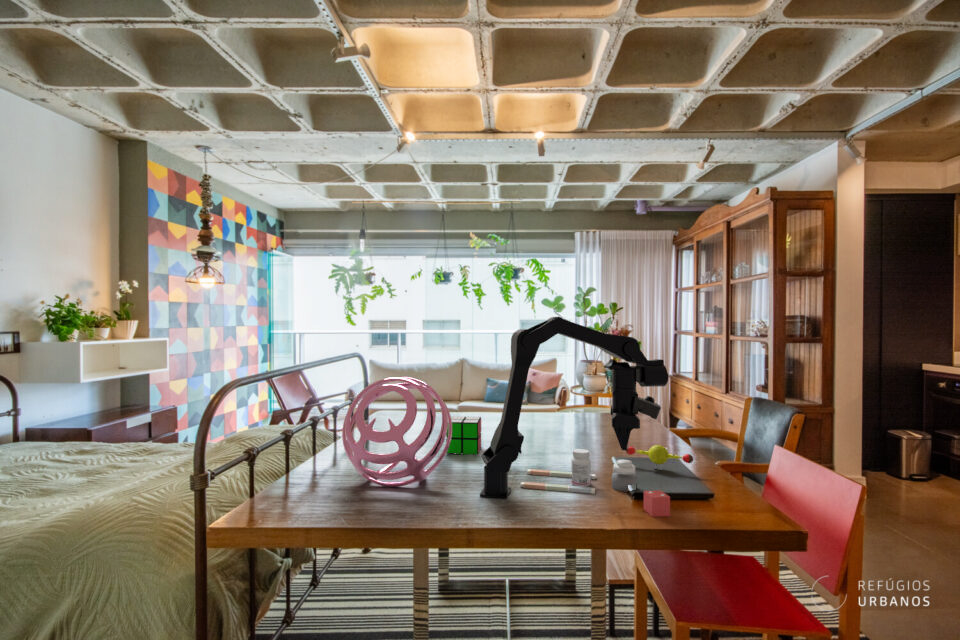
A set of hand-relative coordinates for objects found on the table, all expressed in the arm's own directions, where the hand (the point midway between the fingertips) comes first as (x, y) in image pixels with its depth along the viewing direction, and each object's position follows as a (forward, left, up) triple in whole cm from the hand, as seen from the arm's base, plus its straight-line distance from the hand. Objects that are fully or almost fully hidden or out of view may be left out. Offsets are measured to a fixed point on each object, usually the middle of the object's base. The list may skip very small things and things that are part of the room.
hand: (623, 449), depth 121 cm
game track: (0, +11, -9) cm, 14 cm away
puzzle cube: (+24, +48, -10) cm, 54 cm away
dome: (0, 0, -5) cm, 5 cm away
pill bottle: (0, +10, -10) cm, 14 cm away
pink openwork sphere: (-10, +57, -10) cm, 59 cm away
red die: (-15, -6, -9) cm, 19 cm away
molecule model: (+18, -10, -10) cm, 23 cm away
